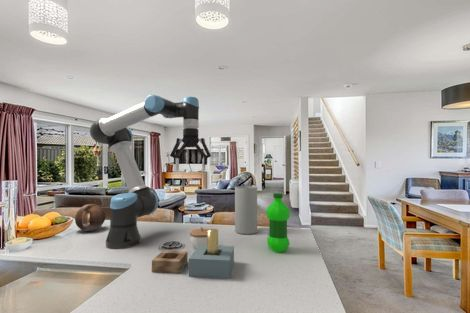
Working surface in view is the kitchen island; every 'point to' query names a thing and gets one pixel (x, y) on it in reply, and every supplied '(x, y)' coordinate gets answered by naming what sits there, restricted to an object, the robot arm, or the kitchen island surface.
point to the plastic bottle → (278, 224)
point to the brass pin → (212, 242)
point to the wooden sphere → (90, 217)
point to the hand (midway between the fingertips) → (190, 171)
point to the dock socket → (211, 262)
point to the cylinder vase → (246, 209)
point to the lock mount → (170, 261)
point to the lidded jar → (198, 237)
